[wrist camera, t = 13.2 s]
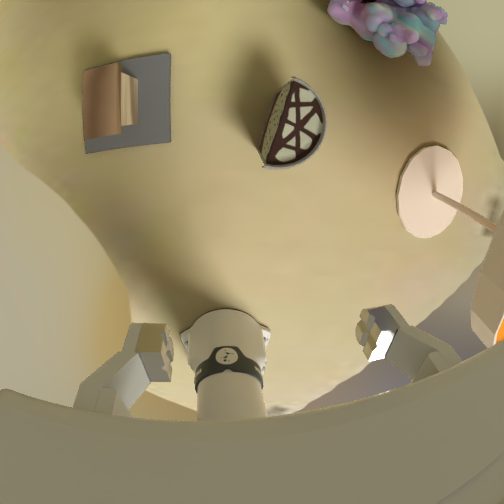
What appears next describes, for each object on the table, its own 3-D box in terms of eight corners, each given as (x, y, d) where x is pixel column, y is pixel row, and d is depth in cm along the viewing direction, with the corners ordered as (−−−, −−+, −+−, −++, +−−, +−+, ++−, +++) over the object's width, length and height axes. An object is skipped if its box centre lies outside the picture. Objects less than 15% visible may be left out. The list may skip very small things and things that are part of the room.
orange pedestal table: (476, 220, 50) (562, 286, 22) (391, 279, 54) (474, 385, 26) (458, 105, 36) (584, 139, 9) (353, 153, 40) (516, 228, 13)
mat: (171, 141, 36) (169, 142, 36) (88, 153, 35) (86, 153, 34) (171, 54, 30) (169, 52, 29) (86, 71, 28) (84, 70, 28)
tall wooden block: (138, 73, 30) (116, 62, 22) (138, 130, 34) (117, 134, 26) (109, 78, 29) (83, 71, 21) (110, 134, 34) (84, 140, 26)
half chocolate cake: (291, 169, 41) (311, 185, 32) (253, 158, 39) (264, 170, 30) (315, 98, 36) (343, 93, 27) (278, 84, 34) (296, 73, 25)
